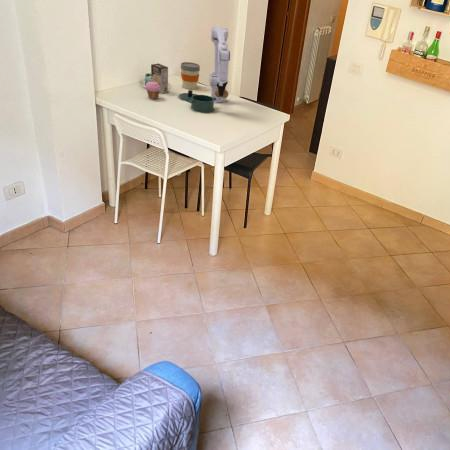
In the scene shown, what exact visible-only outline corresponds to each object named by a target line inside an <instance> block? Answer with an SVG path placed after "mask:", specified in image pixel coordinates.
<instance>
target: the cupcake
mask: <svg viewBox="0 0 450 450" xmlns="http://www.w3.org/2000/svg"><path fill="white" fill-rule="evenodd" d="M145 90H146V92H147V96H148V98H149V99H151V100H155V99H159V97H160V93H159V91H160V90H161V87H160V85H159V84H158V83H157V82H151V81H147V82H146V83H145Z"/></svg>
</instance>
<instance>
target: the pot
mask: <svg viewBox="0 0 450 450" xmlns="http://www.w3.org/2000/svg"><path fill="white" fill-rule="evenodd" d="M214 100H216V98H214V97H213V98H212V97H211V95H207V94H197V95H193V96H192V97H191V100H188V101H187V102H188V103H189V104H190V107H191V110H192V111H195V112H198V113H213V111H214V109H215V108H214V106H215V102H214Z"/></svg>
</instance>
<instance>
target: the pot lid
mask: <svg viewBox="0 0 450 450" xmlns="http://www.w3.org/2000/svg"><path fill="white" fill-rule="evenodd" d="M193 95H198V93H197V94H196V93H193V90H192V89H187V92H182V93H179V94H178V98H179V99H180V100H183V101H187V102H188V100H191V97H192V96H193Z"/></svg>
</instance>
